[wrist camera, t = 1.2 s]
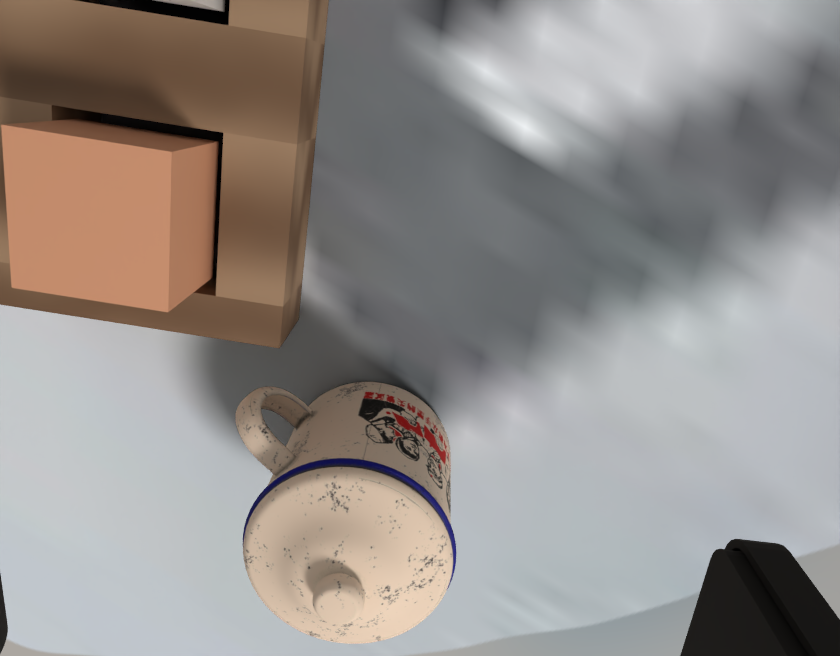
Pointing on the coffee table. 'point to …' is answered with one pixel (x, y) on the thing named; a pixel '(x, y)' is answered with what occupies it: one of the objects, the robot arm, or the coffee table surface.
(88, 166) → the salmon orange block
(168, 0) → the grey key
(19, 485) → the coffee table surface
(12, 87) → the brown slotted base
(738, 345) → the coffee table surface
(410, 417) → the teacup with lid
